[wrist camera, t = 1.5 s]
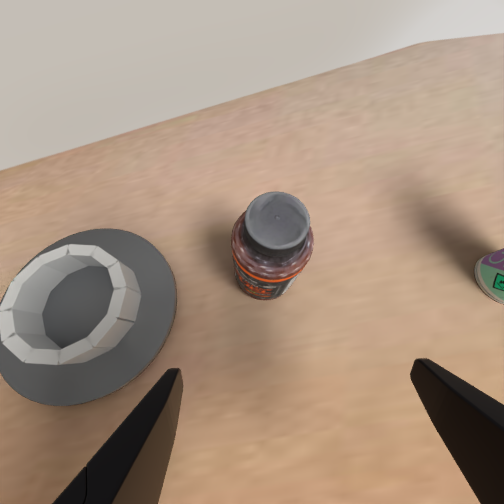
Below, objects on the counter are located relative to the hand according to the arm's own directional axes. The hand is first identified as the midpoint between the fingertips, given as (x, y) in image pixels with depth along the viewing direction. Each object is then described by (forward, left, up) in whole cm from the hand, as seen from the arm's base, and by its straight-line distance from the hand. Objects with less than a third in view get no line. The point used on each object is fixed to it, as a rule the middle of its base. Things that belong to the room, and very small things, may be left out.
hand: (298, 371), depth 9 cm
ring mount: (-5, +17, -14) cm, 22 cm away
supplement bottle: (+7, +5, -14) cm, 16 cm away
